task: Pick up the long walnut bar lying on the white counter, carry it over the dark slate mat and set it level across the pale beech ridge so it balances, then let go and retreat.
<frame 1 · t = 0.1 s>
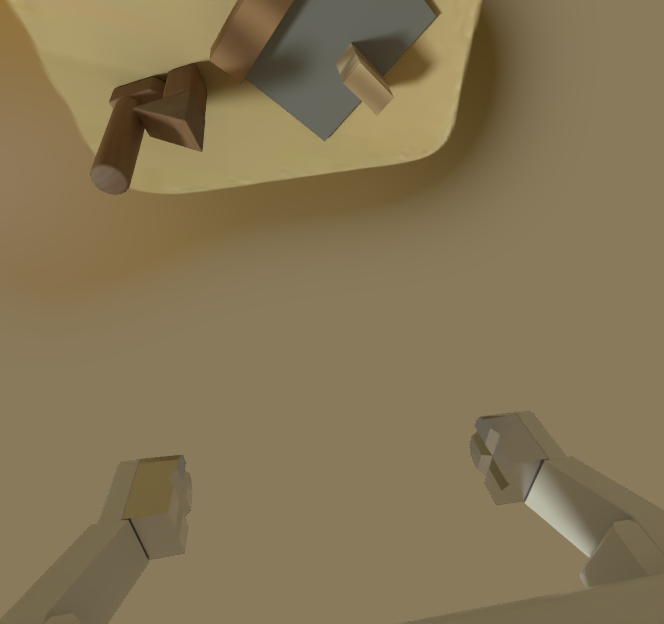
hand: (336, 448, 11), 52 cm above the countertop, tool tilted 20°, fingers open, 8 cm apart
slate mat: (336, 43, 50), on the countertop
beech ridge: (359, 69, 52), resting on slate mat
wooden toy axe: (161, 88, 51), on the countertop
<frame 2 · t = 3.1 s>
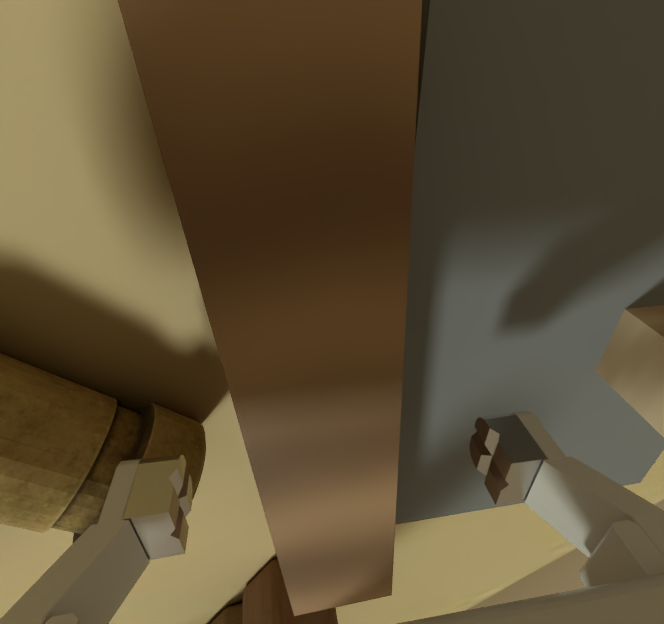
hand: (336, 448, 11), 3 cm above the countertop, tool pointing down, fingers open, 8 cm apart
walnut bar: (309, 353, 14), on the countertop
slate mat: (569, 331, 15), on the countertop
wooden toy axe: (253, 602, 23), on the countertop
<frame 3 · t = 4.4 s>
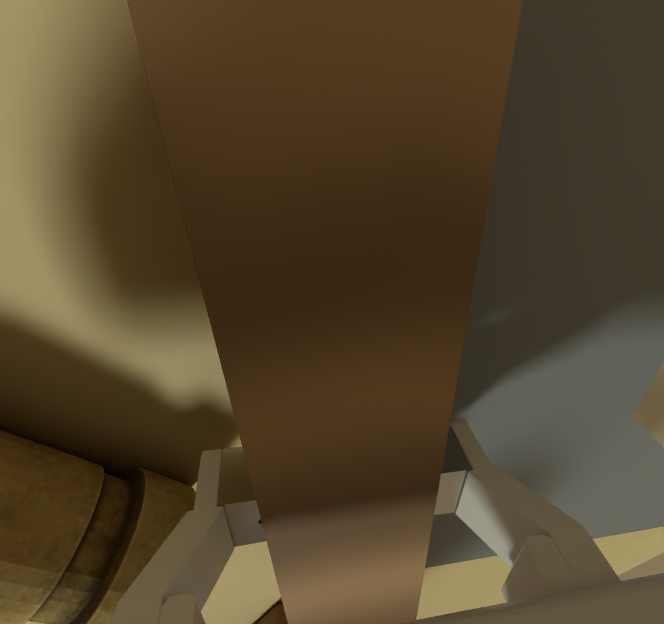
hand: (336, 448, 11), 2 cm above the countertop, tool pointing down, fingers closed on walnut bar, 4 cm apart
walnut bar: (327, 400, 13), on the countertop, touching gripper
slate mat: (604, 373, 14), on the countertop
when the fingers open (10 cm above the countertop, at t = 8.8 s): walnut bar stays where it is, resting on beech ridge.
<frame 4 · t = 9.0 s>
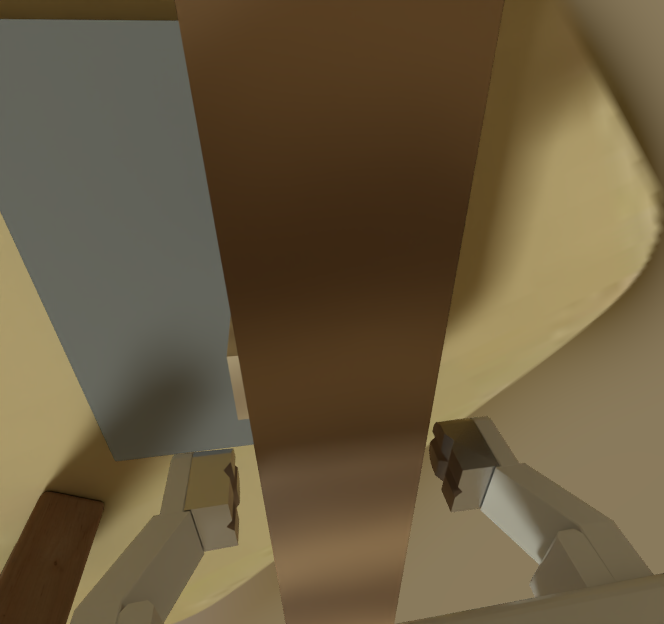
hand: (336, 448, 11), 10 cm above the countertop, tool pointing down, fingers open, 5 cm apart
walnut bar: (322, 381, 14), point 7 cm above the countertop, touching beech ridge
slate mat: (217, 288, 19), on the countertop
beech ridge: (306, 290, 19), resting on slate mat
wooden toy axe: (51, 537, 27), on the countertop
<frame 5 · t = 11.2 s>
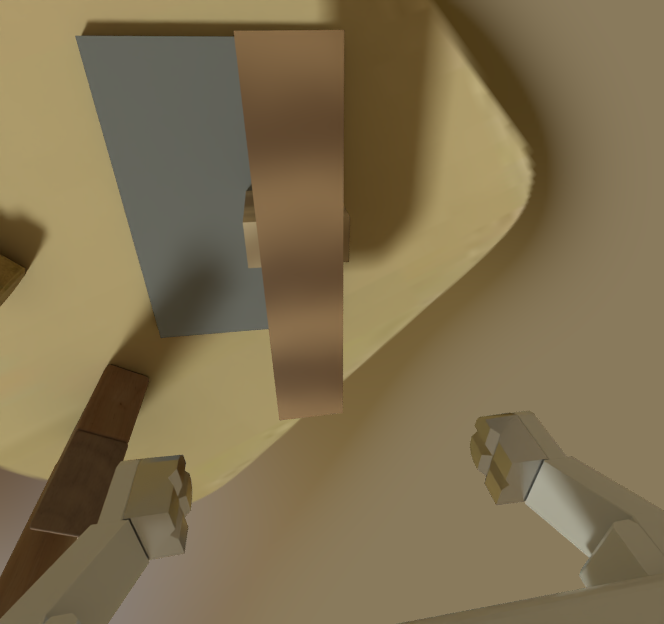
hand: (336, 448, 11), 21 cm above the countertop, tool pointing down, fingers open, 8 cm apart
walnut bar: (297, 243, 23), point 7 cm above the countertop, touching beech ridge
slate mat: (234, 208, 29), on the countertop
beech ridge: (291, 209, 28), resting on slate mat
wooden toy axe: (108, 408, 37), on the countertop
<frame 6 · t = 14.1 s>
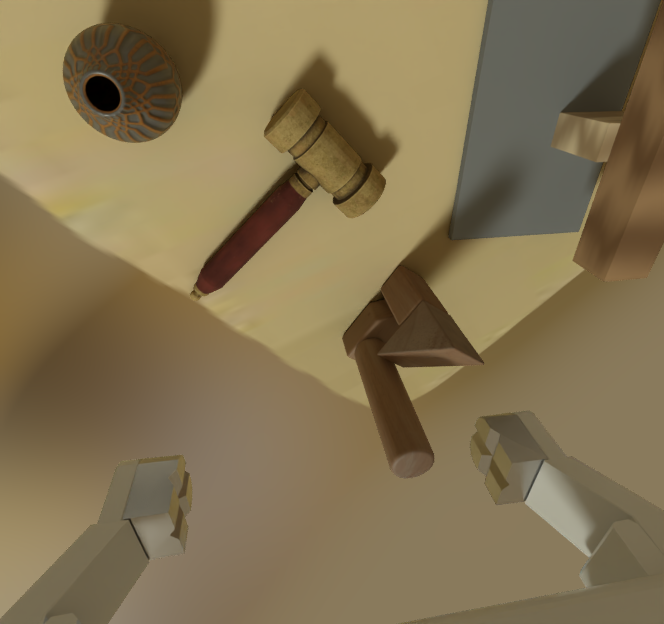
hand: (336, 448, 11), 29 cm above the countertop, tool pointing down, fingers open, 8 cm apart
gavel: (261, 218, 38), on the countertop
vase: (139, 82, 30), on the countertop
walnut bar: (636, 142, 32), point 7 cm above the countertop, touching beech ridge
slate mat: (539, 128, 37), on the countertop
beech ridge: (585, 128, 37), resting on slate mat
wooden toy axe: (380, 307, 45), on the countertop
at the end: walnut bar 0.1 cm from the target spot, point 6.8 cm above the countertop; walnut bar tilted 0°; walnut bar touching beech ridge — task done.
